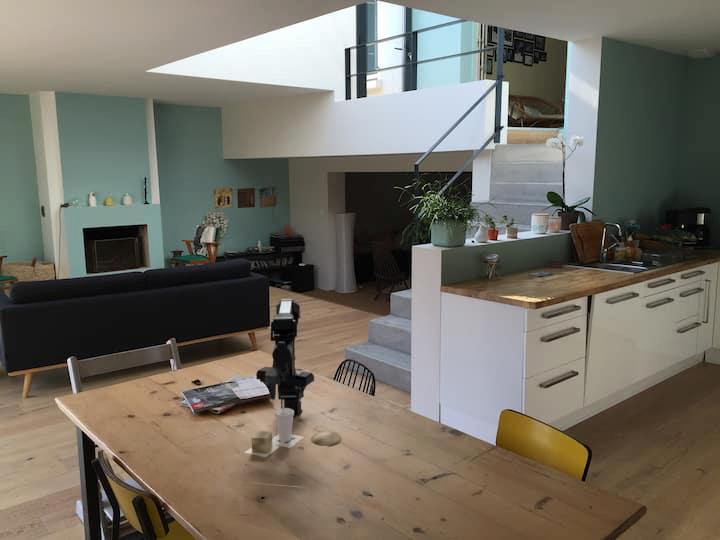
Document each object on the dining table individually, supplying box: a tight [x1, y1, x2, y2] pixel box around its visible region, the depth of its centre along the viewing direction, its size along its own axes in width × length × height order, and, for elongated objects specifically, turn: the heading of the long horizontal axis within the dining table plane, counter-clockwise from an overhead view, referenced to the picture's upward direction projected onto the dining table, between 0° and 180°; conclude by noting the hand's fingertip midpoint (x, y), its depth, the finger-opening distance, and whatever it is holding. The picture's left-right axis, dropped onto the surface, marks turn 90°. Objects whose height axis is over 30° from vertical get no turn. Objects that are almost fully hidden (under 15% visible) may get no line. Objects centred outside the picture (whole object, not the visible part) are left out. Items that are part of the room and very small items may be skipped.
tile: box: [244, 444, 280, 458], centre depth 190 cm, size 8×8×1 cm
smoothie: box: [274, 399, 294, 442], centre depth 196 cm, size 6×6×14 cm
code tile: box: [272, 433, 305, 449], centre depth 197 cm, size 9×9×1 cm
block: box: [251, 430, 273, 454], centre depth 190 cm, size 5×5×5 cm
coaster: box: [310, 431, 342, 447], centre depth 198 cm, size 10×10×1 cm
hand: (285, 401), depth 195 cm, fingers open, 9 cm apart
